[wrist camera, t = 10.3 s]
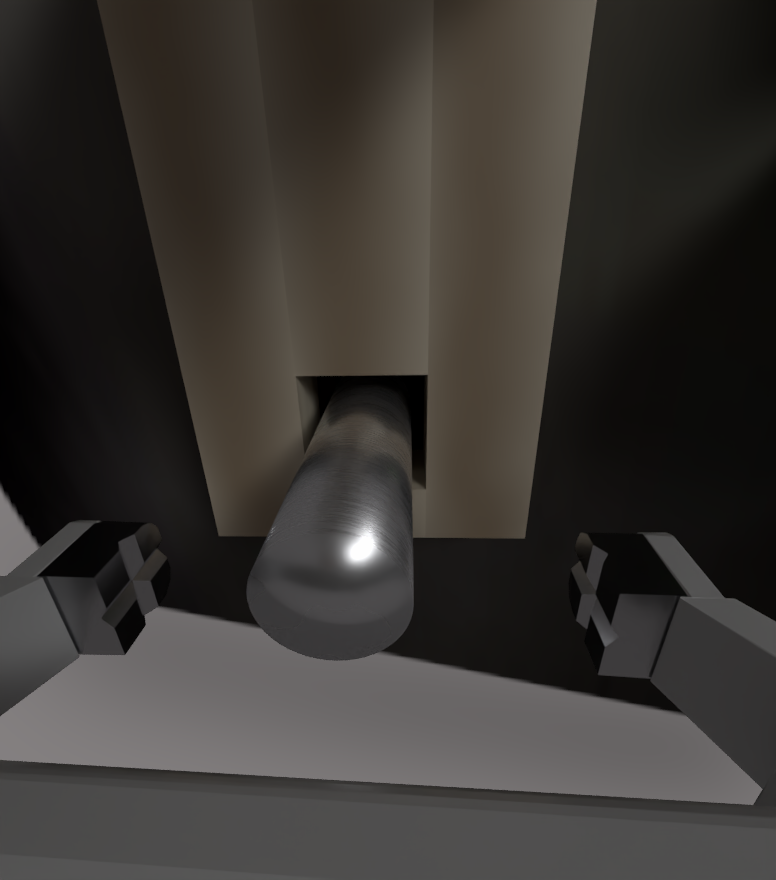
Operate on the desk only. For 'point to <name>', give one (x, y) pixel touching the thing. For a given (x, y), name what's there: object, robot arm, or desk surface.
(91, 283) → the desk surface
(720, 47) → the desk surface
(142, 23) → the socket station
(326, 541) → the peg
